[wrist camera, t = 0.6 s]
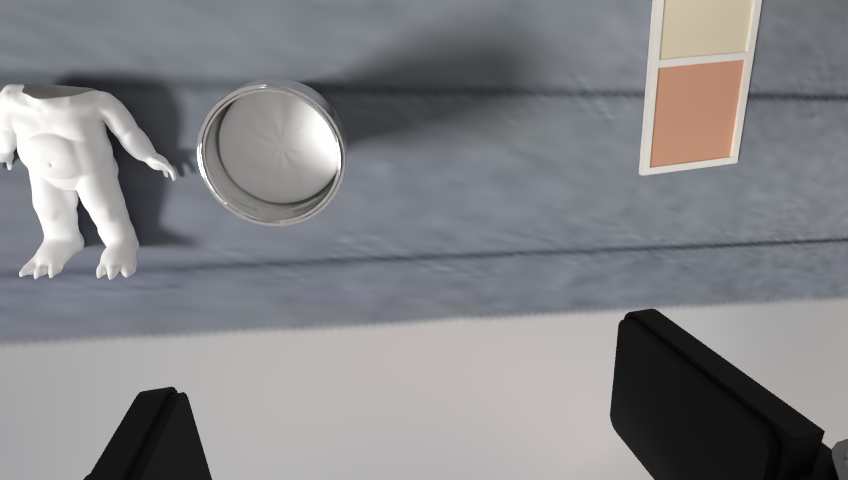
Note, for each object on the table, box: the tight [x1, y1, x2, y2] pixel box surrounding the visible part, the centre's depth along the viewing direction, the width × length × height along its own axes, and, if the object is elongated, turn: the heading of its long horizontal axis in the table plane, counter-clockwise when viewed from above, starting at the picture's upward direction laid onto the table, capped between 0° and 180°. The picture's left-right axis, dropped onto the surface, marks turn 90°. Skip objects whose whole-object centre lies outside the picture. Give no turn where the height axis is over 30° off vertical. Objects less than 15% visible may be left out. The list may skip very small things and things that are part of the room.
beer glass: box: [197, 78, 347, 227], centre depth 28 cm, size 7×7×15 cm
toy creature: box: [0, 84, 176, 280], centre depth 31 cm, size 12×6×12 cm
